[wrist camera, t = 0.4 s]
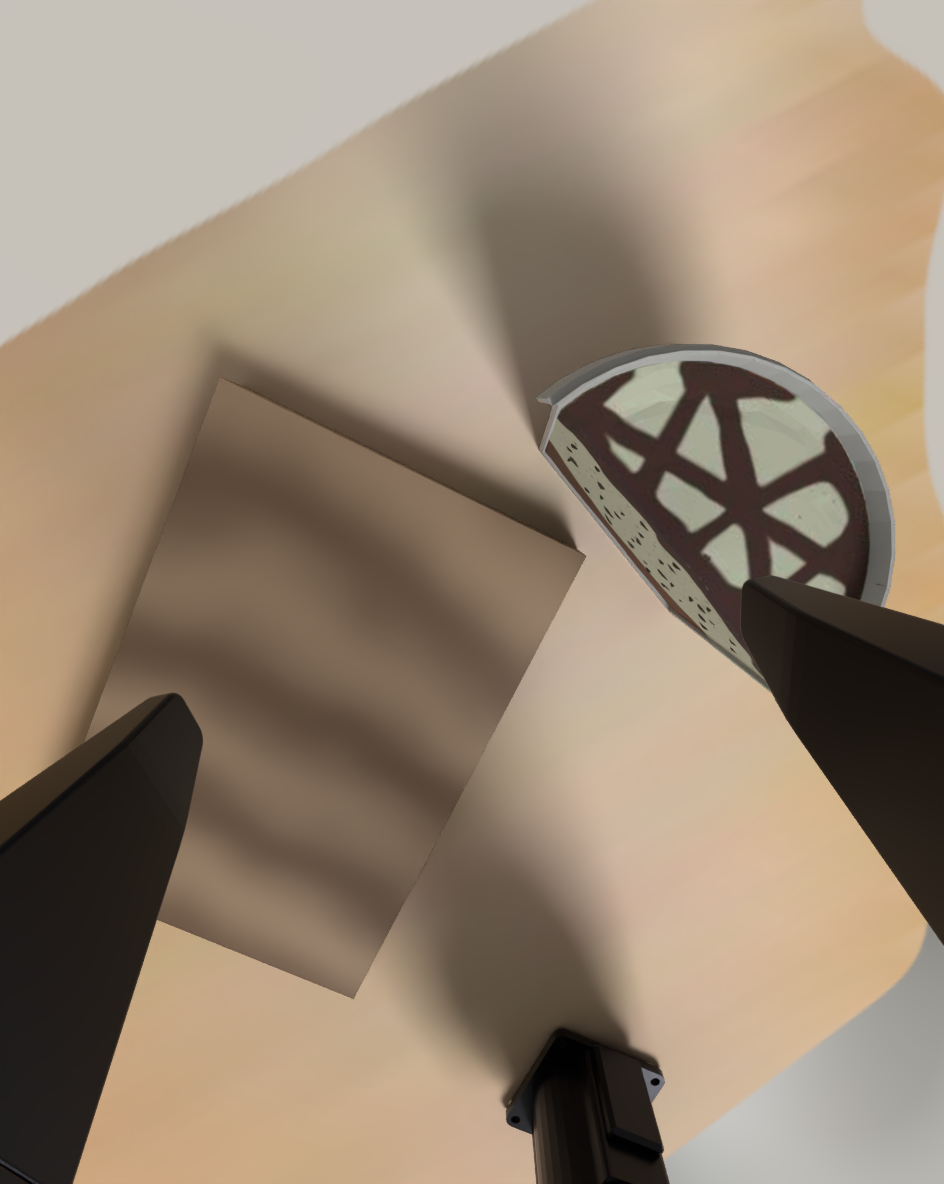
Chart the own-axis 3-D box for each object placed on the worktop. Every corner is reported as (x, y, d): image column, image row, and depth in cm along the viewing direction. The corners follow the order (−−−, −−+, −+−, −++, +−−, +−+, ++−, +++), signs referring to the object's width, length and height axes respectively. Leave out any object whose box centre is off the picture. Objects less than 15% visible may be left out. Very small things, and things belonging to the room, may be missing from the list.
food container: (801, 549, 26) (1004, 595, 16) (688, 636, 26) (814, 731, 17) (631, 321, 24) (742, 212, 14) (516, 422, 25) (542, 387, 15)
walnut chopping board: (361, 964, 30) (353, 998, 28) (66, 843, 29) (36, 870, 27) (577, 549, 26) (586, 556, 24) (240, 385, 24) (219, 377, 22)
